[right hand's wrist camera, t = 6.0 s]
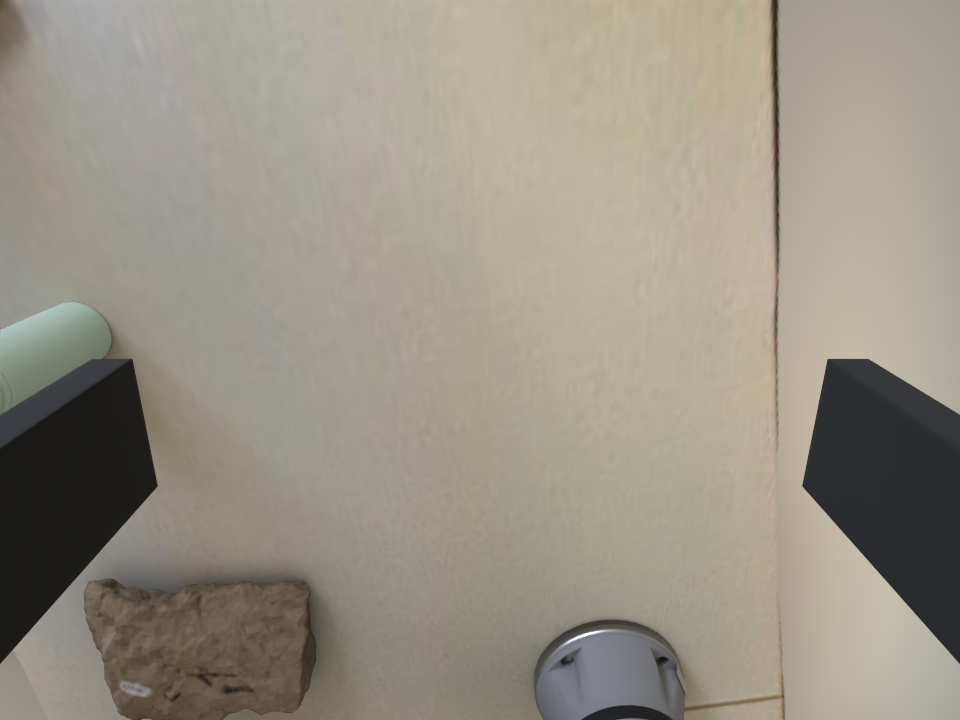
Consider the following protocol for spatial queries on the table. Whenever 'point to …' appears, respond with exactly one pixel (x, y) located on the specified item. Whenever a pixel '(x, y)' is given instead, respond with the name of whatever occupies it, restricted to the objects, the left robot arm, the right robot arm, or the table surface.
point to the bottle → (48, 349)
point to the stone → (203, 648)
